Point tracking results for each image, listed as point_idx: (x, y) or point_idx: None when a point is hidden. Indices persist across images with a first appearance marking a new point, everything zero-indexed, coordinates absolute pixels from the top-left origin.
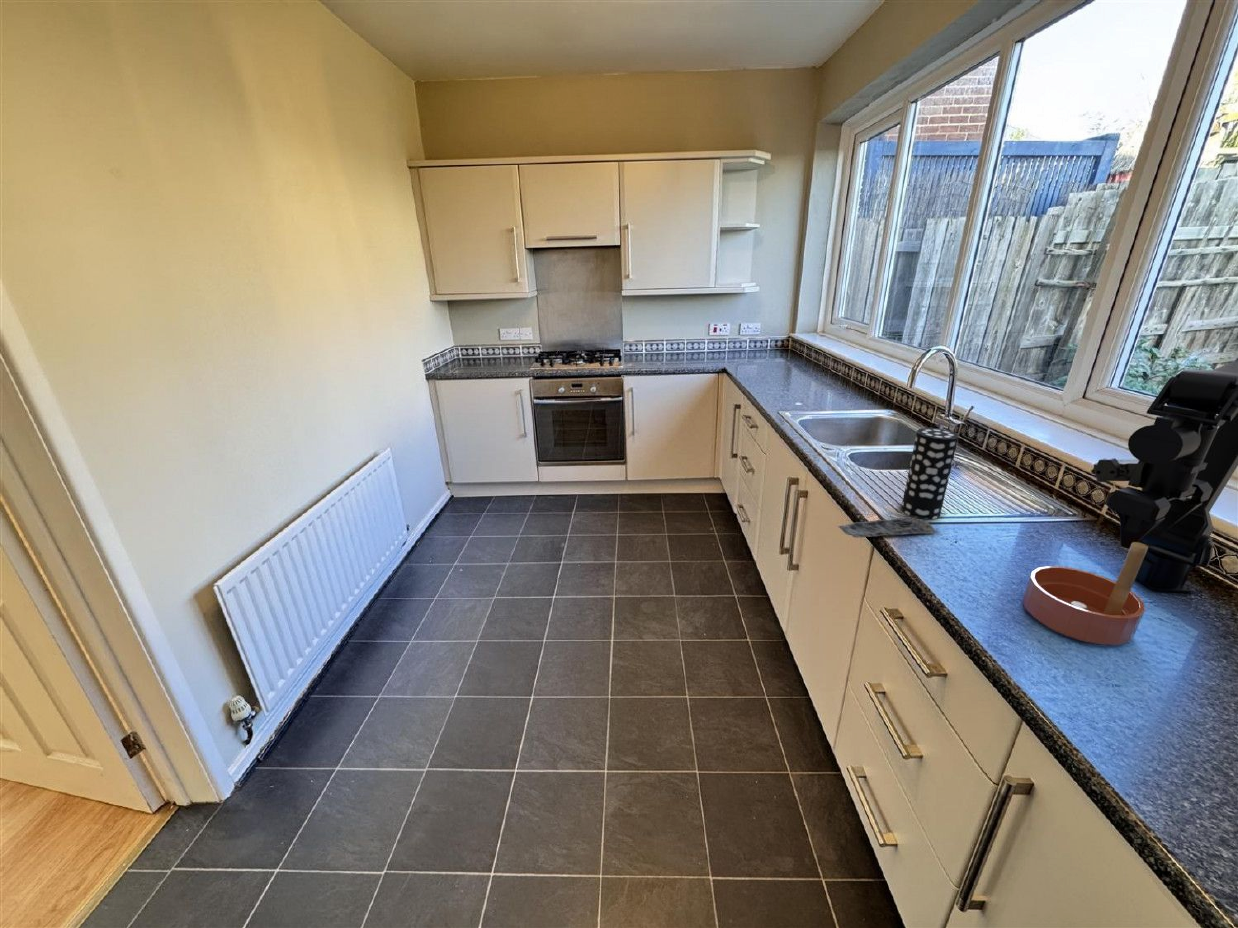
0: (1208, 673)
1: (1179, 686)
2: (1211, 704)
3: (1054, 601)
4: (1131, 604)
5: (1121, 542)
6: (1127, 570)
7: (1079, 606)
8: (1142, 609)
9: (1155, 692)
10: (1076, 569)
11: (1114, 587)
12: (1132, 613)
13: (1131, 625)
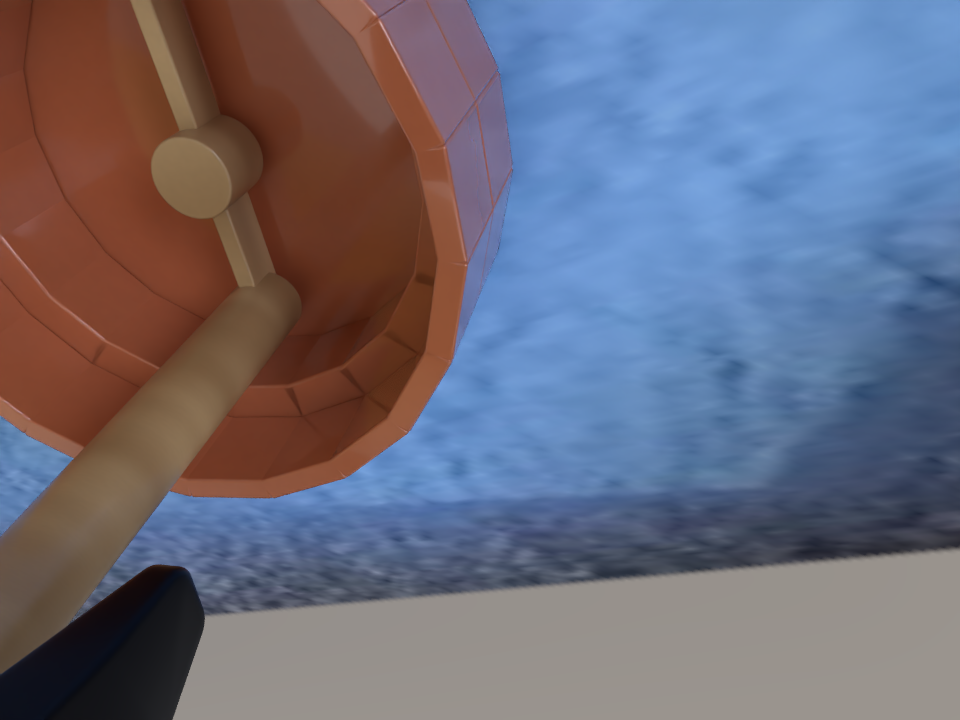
0: (425, 557)
1: (242, 523)
2: (252, 584)
3: None
4: (383, 395)
5: (109, 603)
6: None
7: (176, 190)
8: (269, 490)
9: None
10: (358, 25)
11: (92, 440)
12: (371, 392)
13: None
